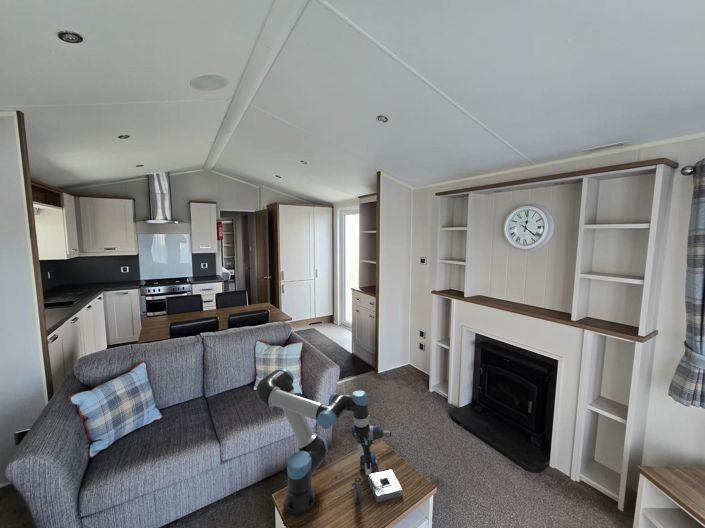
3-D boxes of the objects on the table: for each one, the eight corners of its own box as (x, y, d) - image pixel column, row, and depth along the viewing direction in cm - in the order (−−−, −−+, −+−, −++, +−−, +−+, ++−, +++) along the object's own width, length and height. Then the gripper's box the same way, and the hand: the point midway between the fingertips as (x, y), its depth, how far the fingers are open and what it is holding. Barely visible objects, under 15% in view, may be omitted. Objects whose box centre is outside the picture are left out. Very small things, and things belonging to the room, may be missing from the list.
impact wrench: (390, 475, 174) (390, 433, 171) (350, 468, 179) (350, 428, 176) (391, 464, 182) (391, 424, 179) (353, 458, 187) (353, 419, 184)
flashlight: (352, 506, 155) (352, 484, 154) (350, 500, 158) (350, 478, 157) (365, 503, 157) (365, 481, 155) (362, 497, 160) (363, 475, 159)
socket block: (376, 502, 157) (376, 495, 157) (367, 480, 170) (367, 474, 170) (402, 495, 161) (402, 489, 161) (391, 475, 174) (391, 469, 174)
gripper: (376, 437, 142) (379, 480, 144) (362, 408, 166) (365, 446, 168) (360, 440, 140) (364, 484, 142) (348, 411, 165) (351, 449, 166)
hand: (364, 464), depth 155 cm, fingers open, 13 cm apart
